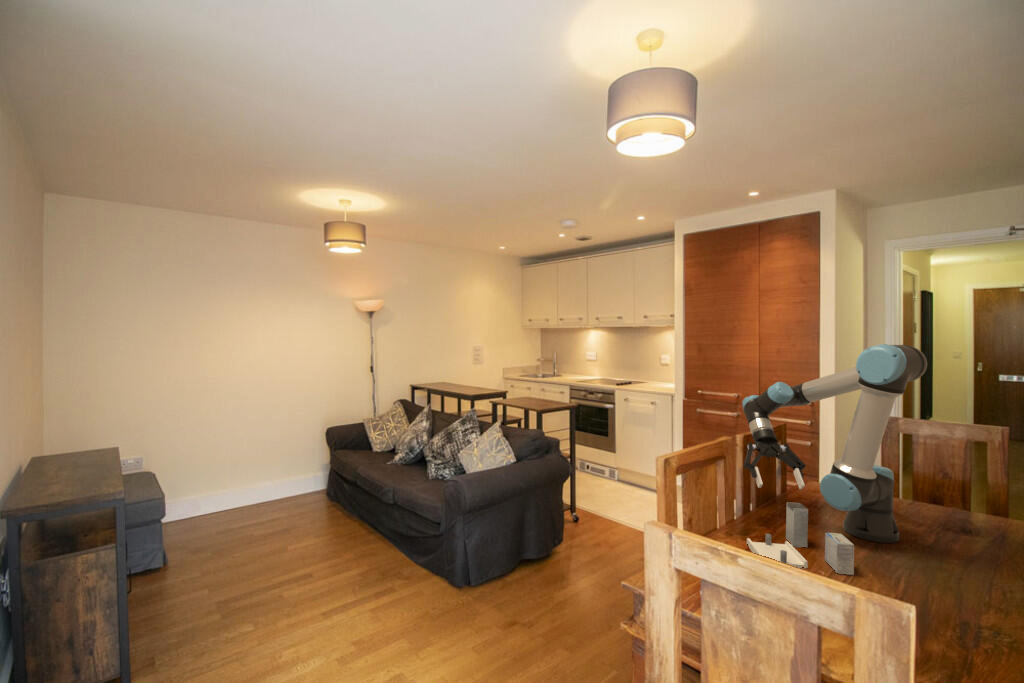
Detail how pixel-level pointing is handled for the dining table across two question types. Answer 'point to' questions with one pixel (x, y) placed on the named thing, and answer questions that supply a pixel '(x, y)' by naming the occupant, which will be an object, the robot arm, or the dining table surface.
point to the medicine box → (839, 553)
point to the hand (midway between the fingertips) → (781, 486)
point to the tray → (778, 552)
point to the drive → (797, 524)
